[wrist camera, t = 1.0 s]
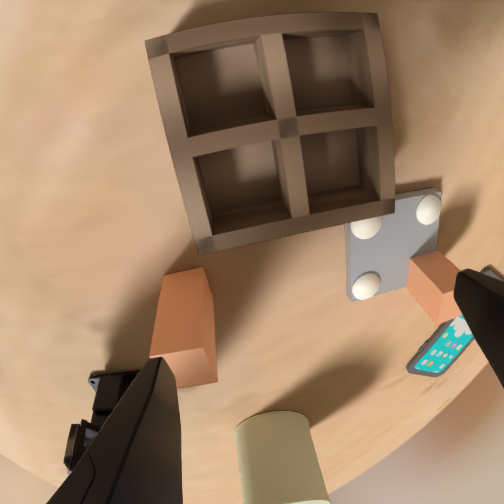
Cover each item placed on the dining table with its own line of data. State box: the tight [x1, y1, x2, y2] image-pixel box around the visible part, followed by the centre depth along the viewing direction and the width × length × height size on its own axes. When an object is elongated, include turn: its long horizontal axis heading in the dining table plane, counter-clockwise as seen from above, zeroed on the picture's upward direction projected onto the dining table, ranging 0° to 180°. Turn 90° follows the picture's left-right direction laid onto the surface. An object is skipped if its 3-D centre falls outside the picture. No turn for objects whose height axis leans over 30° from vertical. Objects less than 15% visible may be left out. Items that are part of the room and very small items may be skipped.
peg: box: [149, 267, 218, 388], centre depth 20 cm, size 3×3×8 cm
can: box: [234, 411, 331, 504], centre depth 30 cm, size 9×9×12 cm
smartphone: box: [406, 268, 503, 377], centre depth 31 cm, size 9×1×15 cm
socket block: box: [145, 12, 395, 255], centre depth 17 cm, size 12×12×4 cm
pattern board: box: [345, 187, 462, 325], centre depth 21 cm, size 8×8×6 cm
